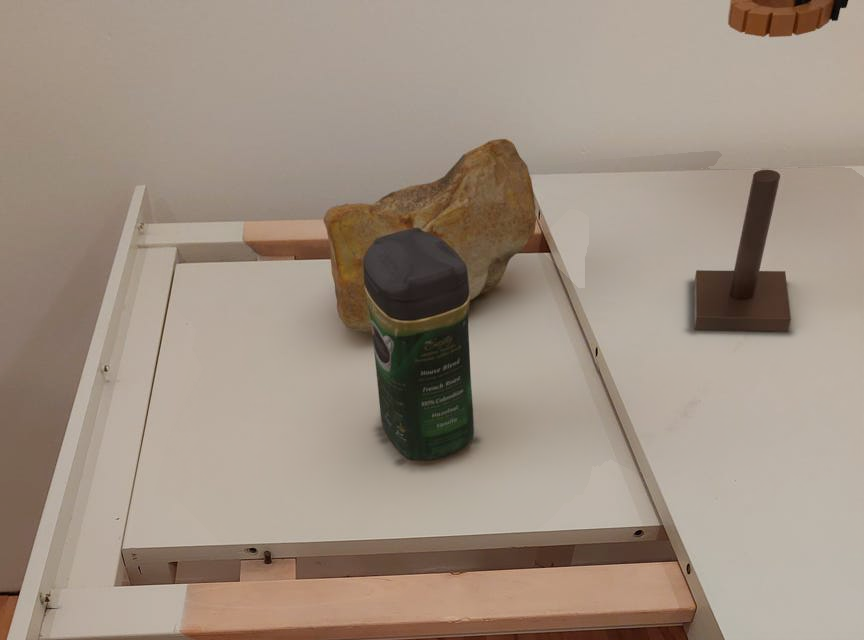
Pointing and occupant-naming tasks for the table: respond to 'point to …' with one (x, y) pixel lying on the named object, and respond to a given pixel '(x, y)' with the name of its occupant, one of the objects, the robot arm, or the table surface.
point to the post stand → (746, 275)
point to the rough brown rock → (440, 223)
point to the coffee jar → (421, 343)
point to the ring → (778, 16)
